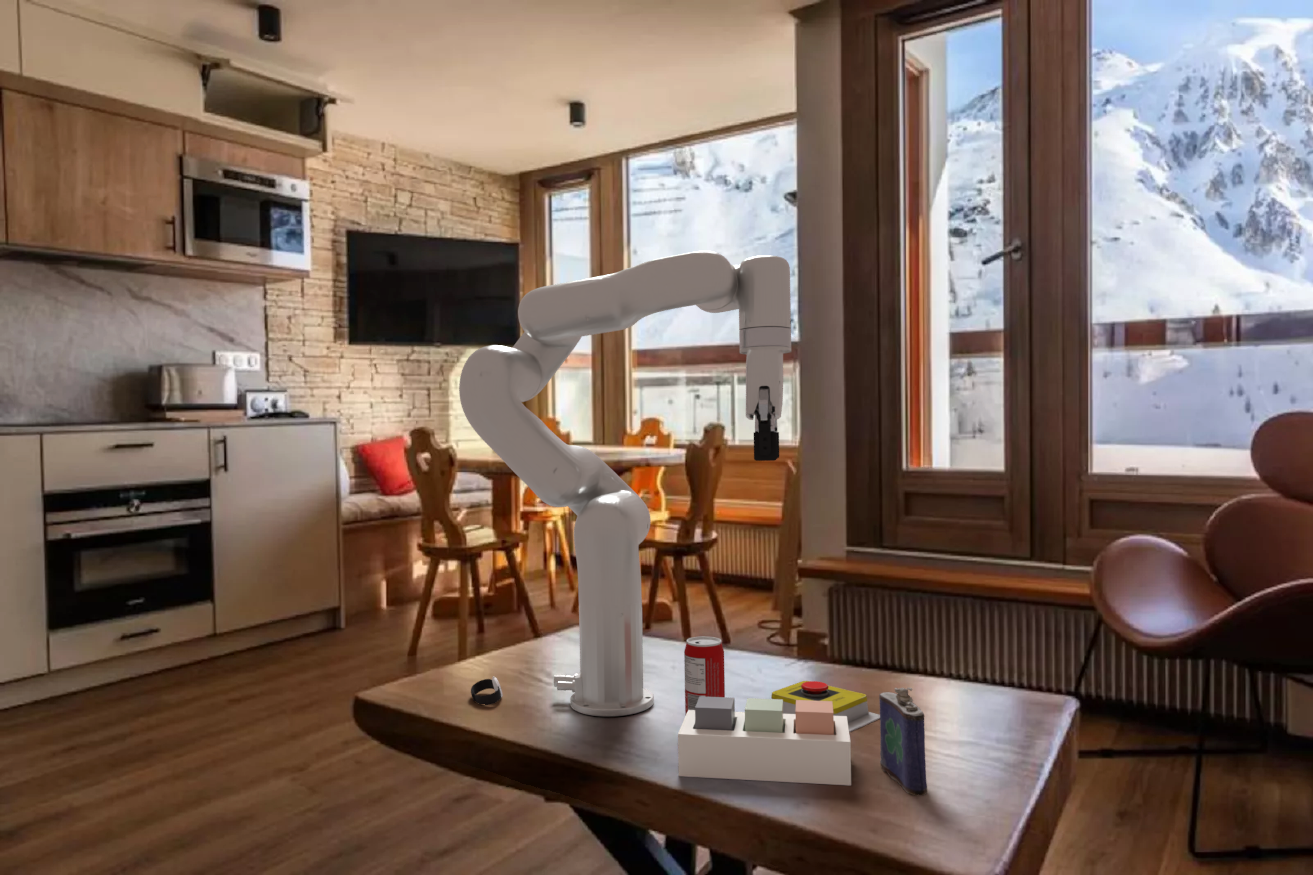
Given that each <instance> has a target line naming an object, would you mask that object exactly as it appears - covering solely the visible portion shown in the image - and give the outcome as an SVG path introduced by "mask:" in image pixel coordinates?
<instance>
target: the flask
mask: <svg viewBox="0 0 1313 875" xmlns="http://www.w3.org/2000/svg"><path fill="white" fill-rule="evenodd" d="M909 691H911V692H912V691H913V687H905V688H904V687H900V688H897V687H894V692H895V693H894V692H892V691H891V692H889V691H888V692H881V693H879V695H878V697H879V698H878V699H879V715H880V719H879V721H880V722H879V724H880V727H879V729H880V731H879V732H880V740H879V741H880V752H879V754H880V761H879V762H880V763H879V764H880V767H881V769H882V771H883V772H886V773H887V774H888V775H889V777H890V778H891V779H892V780H894V781H895V782H898V783H897V784H898V785H899V786H900V785H901V786H902V789H904V791H905V792H906V793H907V794H910V795H913V796H915V797H916V796H924V795H927V793H928V785H927V784H928V783H927V771H926V770H927V769H926V766H927V764H926V750H925V749H926V742H925V740H926V738H925V737H926V734H925V731H926V730H925V713H924V712H923V711H922V709H921V708H920V707H919V706H918V705H917V704H916V703H914V700H913V697H912V696H910V694H909Z"/></svg>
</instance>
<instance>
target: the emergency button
mask: <svg viewBox="0 0 1313 875" xmlns="http://www.w3.org/2000/svg"><path fill="white" fill-rule="evenodd" d="M770 696H771V698H770V699H783V714H796V700H810V701H832V704H833V716H847V721H848V728H849V733H852V732H854V731H856V730H858V729H861V728H862V727H863V728H864V727H865V726H867V725H869V724H872V723H874V722H875V721H878V720H880V713H874V712H871V711H869V707H868V697H867V694H865V693H861V692H857V691H853V690H848V689H844V688H841V687H837V686H833V685H828V684H827V683H825V682H823V681H815V680H811V681H810V680H803V681H799V682H797V683H794V684H791V685H788V686H785V687H782V688H779V689H776V690H774V691H772V692H771V695H770Z"/></svg>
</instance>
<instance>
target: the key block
mask: <svg viewBox="0 0 1313 875" xmlns="http://www.w3.org/2000/svg"><path fill="white" fill-rule="evenodd" d="M833 719H834V735H821V734H798V733H796V714H783V733H776V732H753V731H745V711H735V729H734V731H730V730H708V729H695V710H688V712H687V714H686V716H685V717H684V718H683V721H682V724H681V726H680V727H679V730H678V732H677V757H678V760H677V764H678V768H677V769H678V777H689V778H703V779H705V778H706V779H724V780H725V779H726V780H727V779H729V780H743V781H744V780H745V781H746V780H747V781H761V782H779V783H781V782H782V783H796V784H797V783H801V784H818V785H819V784H820V785H835V786H852V763H851V762H852V761H851V760H852V759H851V754H852V753H851V748H852V747H851V736H850V732H849V728H848V721H847V716H833Z"/></svg>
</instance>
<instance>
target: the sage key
mask: <svg viewBox="0 0 1313 875" xmlns="http://www.w3.org/2000/svg"><path fill="white" fill-rule="evenodd" d="M744 712H745V731H753V732H776V733H783V699H771V698H753V697H751V698H750V697H747V699H746V703H745V707H744Z"/></svg>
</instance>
